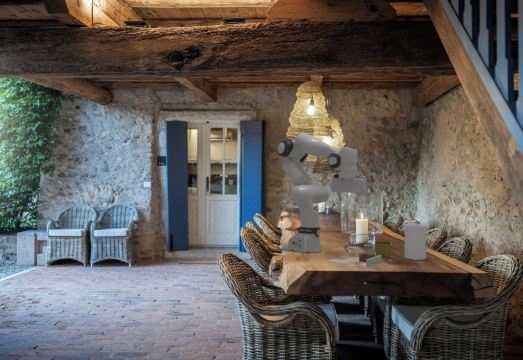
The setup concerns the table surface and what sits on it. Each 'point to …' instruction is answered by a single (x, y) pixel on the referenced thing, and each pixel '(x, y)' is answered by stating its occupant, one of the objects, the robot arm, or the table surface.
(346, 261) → the trap deck
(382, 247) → the flower pot
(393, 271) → the table surface
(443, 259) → the table surface
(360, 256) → the walnut block
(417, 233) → the cup
